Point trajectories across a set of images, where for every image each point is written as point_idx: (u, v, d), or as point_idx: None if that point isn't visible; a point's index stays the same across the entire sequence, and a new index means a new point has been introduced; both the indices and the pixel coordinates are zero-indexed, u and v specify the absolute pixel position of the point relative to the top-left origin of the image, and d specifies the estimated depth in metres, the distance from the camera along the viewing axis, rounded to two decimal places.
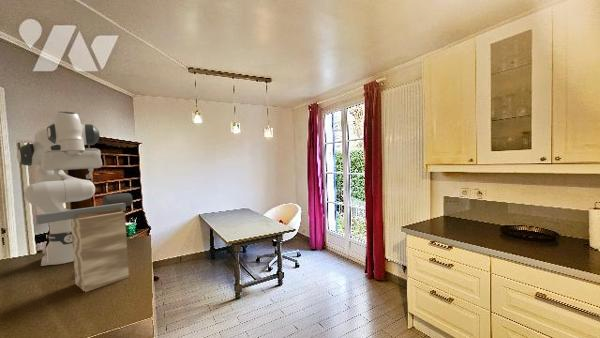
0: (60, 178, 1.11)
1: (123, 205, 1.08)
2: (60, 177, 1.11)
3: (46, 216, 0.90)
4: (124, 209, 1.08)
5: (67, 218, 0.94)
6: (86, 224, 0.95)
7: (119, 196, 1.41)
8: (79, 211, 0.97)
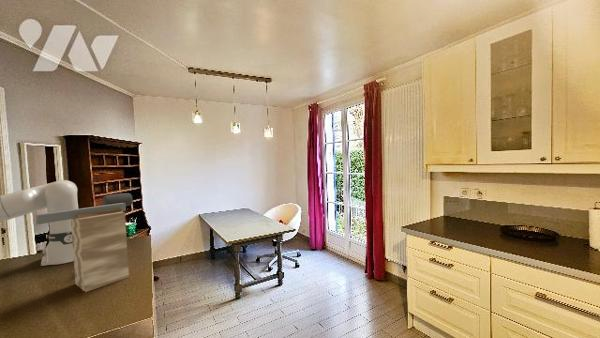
0: None
1: (123, 205, 1.08)
2: None
3: (46, 216, 0.90)
4: (124, 209, 1.08)
5: (67, 218, 0.94)
6: (86, 224, 0.95)
7: (119, 196, 1.41)
8: (79, 211, 0.97)
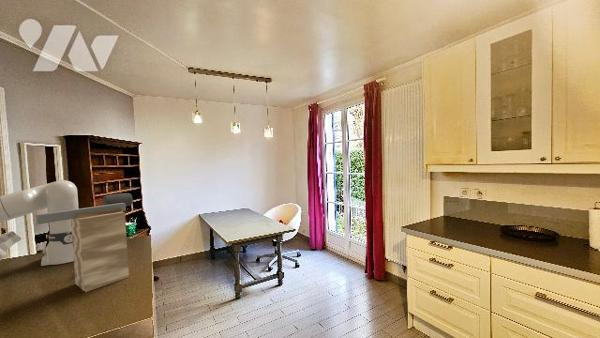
0: (14, 236, 0.81)
1: (123, 205, 1.08)
2: (12, 237, 0.81)
3: (46, 216, 0.90)
4: (124, 209, 1.08)
5: (67, 218, 0.94)
6: (86, 224, 0.95)
7: (119, 196, 1.41)
8: (79, 211, 0.97)
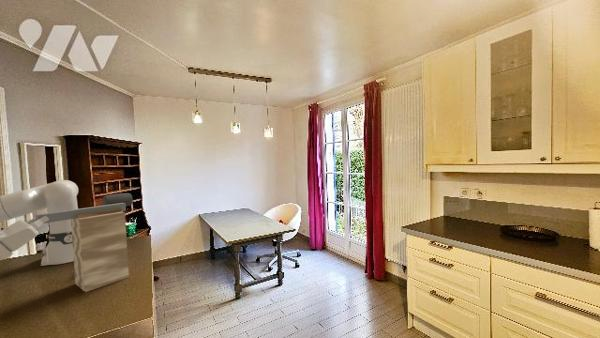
0: (42, 217, 0.88)
1: (123, 205, 1.08)
2: (41, 217, 0.88)
3: None
4: (124, 209, 1.08)
5: (67, 218, 0.94)
6: (86, 224, 0.95)
7: (119, 196, 1.41)
8: (79, 211, 0.97)
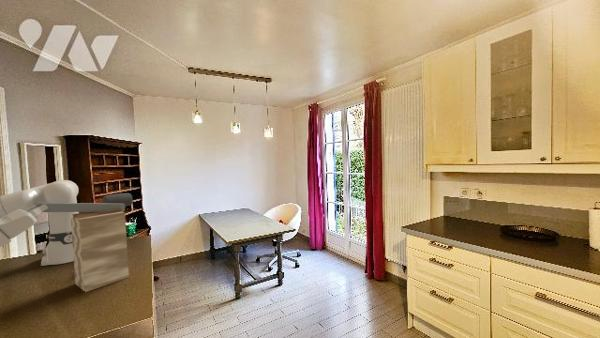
0: (41, 205, 0.88)
1: (122, 205, 1.08)
2: (40, 206, 0.88)
3: None
4: (123, 210, 1.08)
5: (65, 210, 0.94)
6: (86, 224, 0.95)
7: (119, 196, 1.41)
8: (78, 205, 0.97)
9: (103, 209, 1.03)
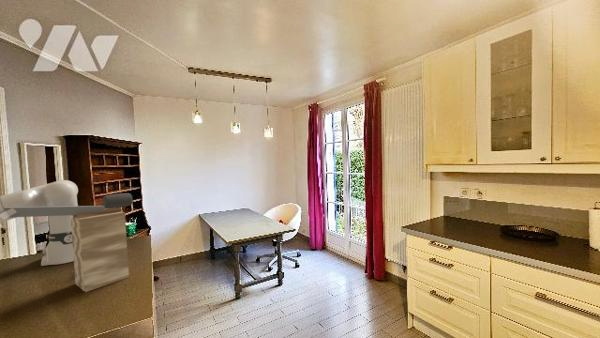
0: (9, 209, 0.82)
1: (102, 208, 1.02)
2: (7, 210, 0.82)
3: None
4: None
5: (38, 215, 0.88)
6: (86, 224, 0.95)
7: (119, 196, 1.41)
8: (52, 209, 0.91)
9: (80, 212, 0.97)
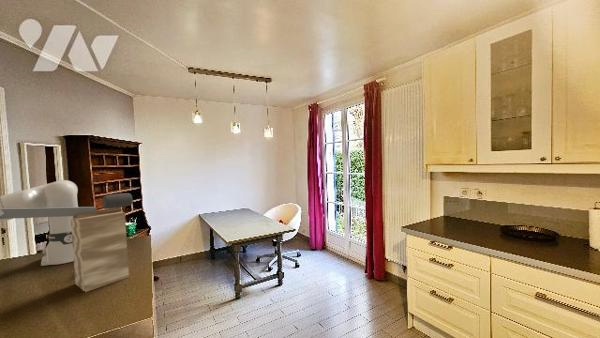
0: None
1: (93, 209, 1.00)
2: None
3: None
4: None
5: (27, 216, 0.86)
6: (86, 224, 0.95)
7: (119, 196, 1.41)
8: (42, 210, 0.89)
9: (71, 213, 0.95)
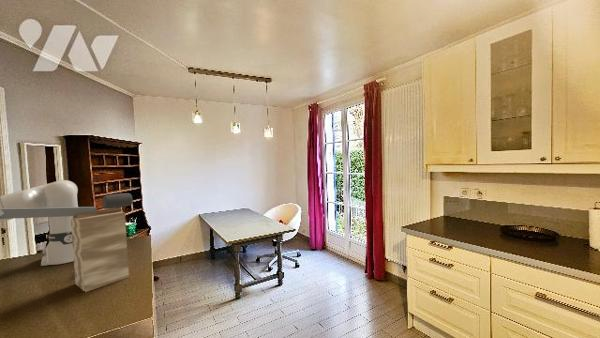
0: None
1: (93, 209, 1.00)
2: None
3: None
4: None
5: (27, 216, 0.86)
6: (86, 224, 0.95)
7: (119, 196, 1.41)
8: (42, 210, 0.89)
9: (71, 213, 0.95)
